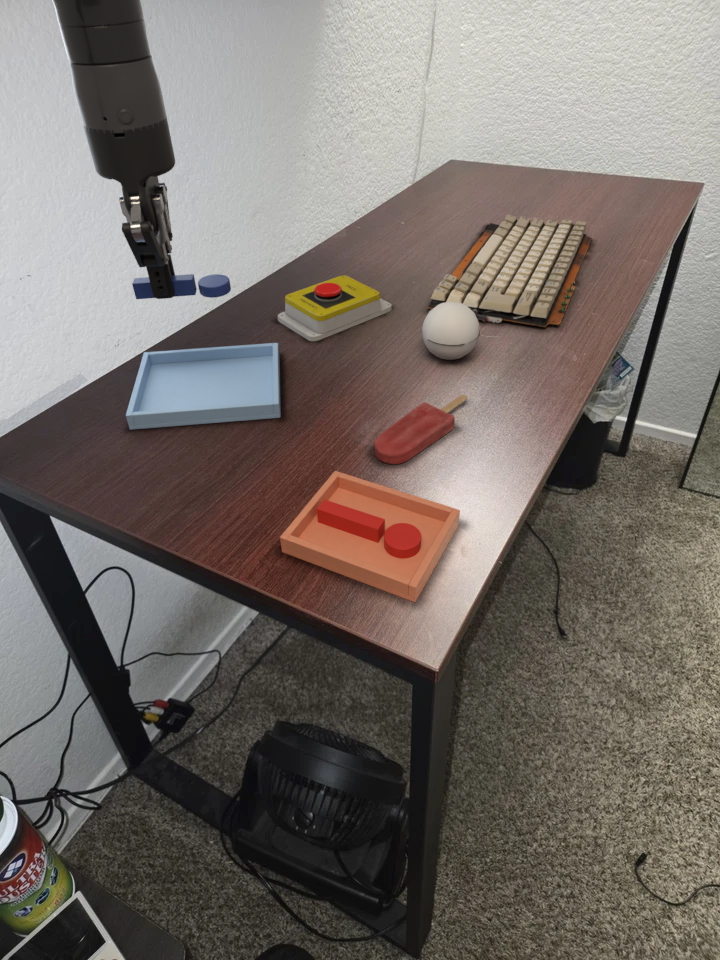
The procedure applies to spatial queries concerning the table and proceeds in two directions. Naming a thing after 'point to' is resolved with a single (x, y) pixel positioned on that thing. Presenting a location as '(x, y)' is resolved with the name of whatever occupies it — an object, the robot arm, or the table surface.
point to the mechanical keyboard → (518, 271)
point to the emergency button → (331, 307)
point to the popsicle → (415, 432)
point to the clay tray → (365, 555)
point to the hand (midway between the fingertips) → (166, 292)
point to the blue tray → (206, 386)
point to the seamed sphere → (451, 330)
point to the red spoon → (371, 528)
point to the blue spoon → (186, 286)
